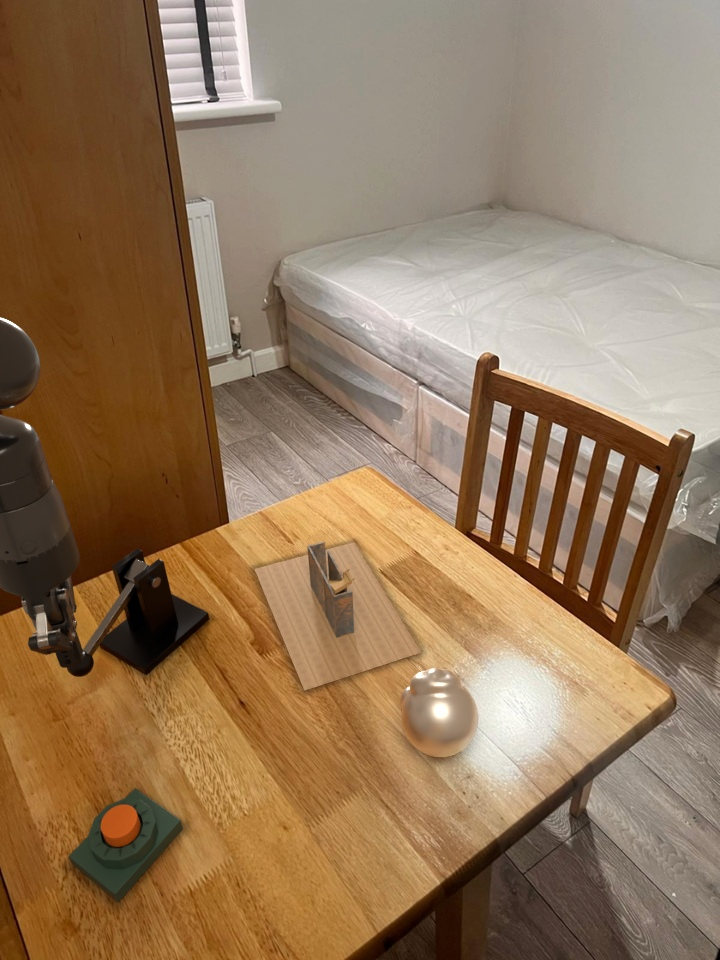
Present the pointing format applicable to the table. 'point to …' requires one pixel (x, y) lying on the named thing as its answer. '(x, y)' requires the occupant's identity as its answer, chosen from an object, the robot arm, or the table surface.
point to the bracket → (150, 617)
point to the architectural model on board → (333, 614)
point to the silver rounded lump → (438, 713)
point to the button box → (126, 847)
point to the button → (120, 825)
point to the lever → (108, 621)
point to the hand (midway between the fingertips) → (72, 661)
